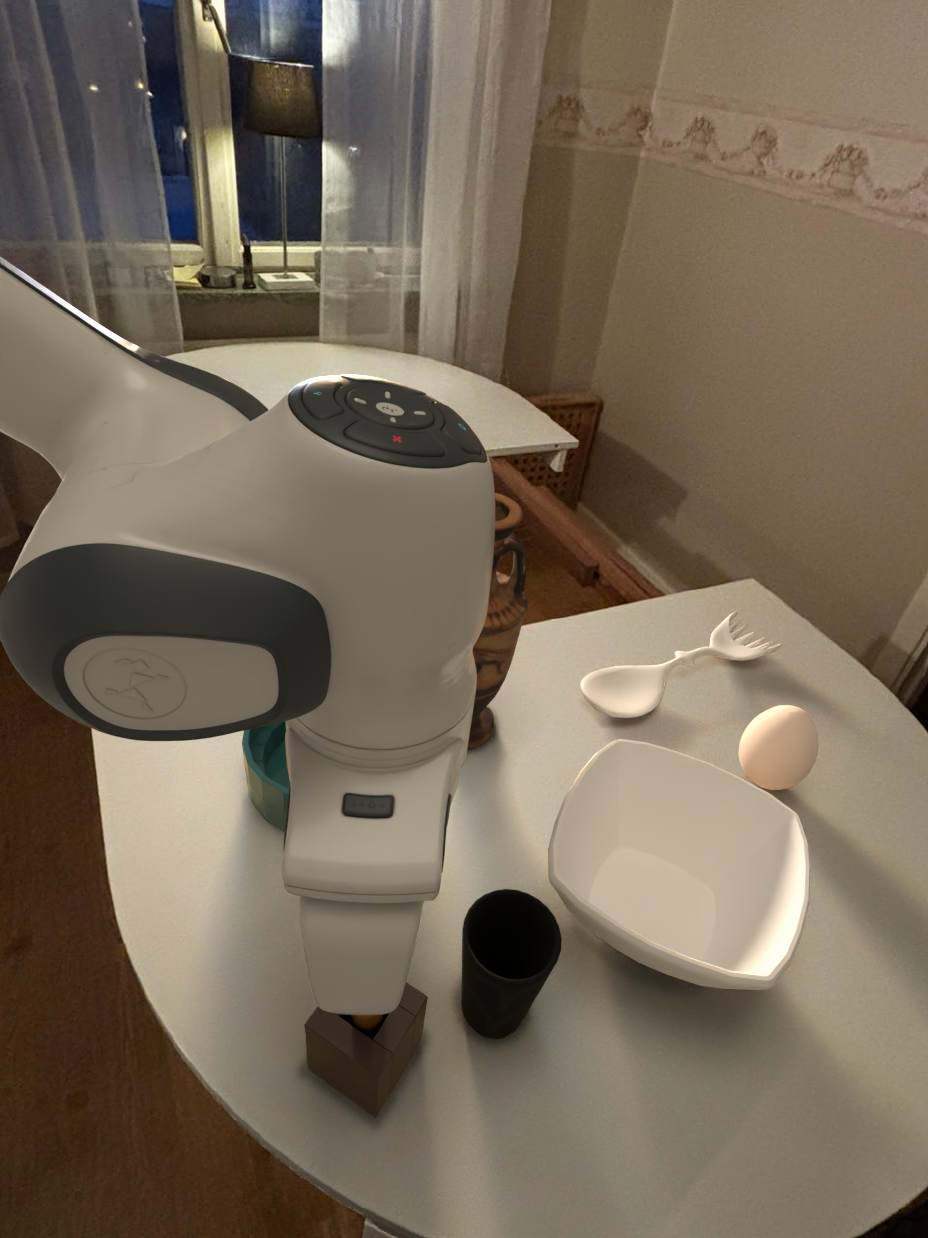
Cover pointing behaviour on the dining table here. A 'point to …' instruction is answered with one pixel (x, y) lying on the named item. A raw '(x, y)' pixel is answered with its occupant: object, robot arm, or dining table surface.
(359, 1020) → the stick
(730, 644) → the spoon
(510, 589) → the vase
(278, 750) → the mixing bowl
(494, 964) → the cup
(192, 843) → the dining table surface
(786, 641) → the dining table surface
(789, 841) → the bowl
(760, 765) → the egg
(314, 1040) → the holder
